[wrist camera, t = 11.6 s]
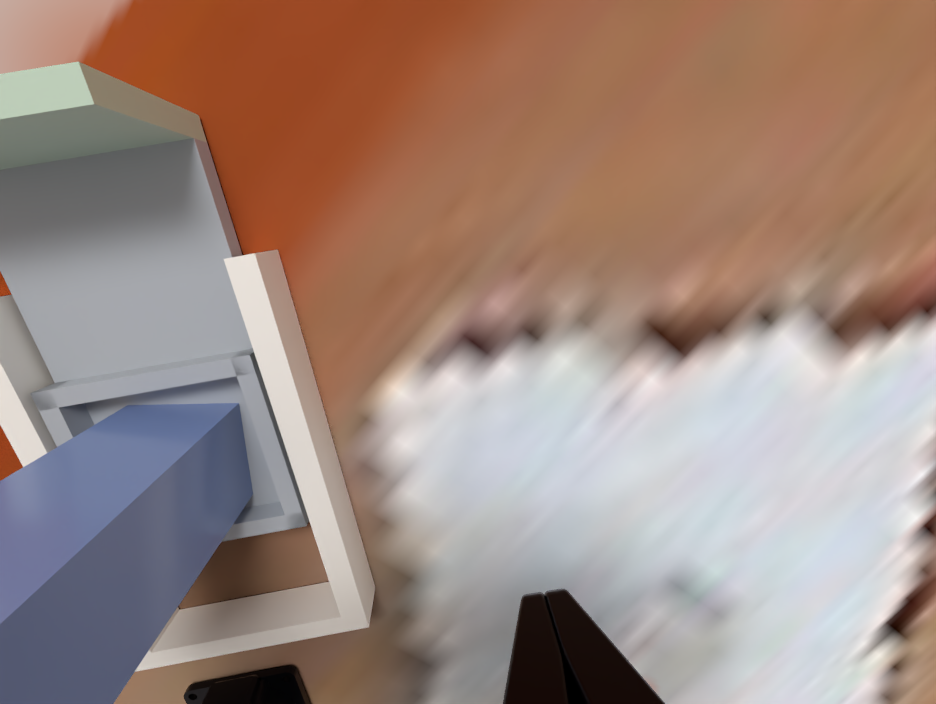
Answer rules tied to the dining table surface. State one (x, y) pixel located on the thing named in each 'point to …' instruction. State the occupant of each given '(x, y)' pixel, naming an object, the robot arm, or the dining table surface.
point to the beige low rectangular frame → (310, 453)
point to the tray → (129, 267)
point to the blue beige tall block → (111, 545)
